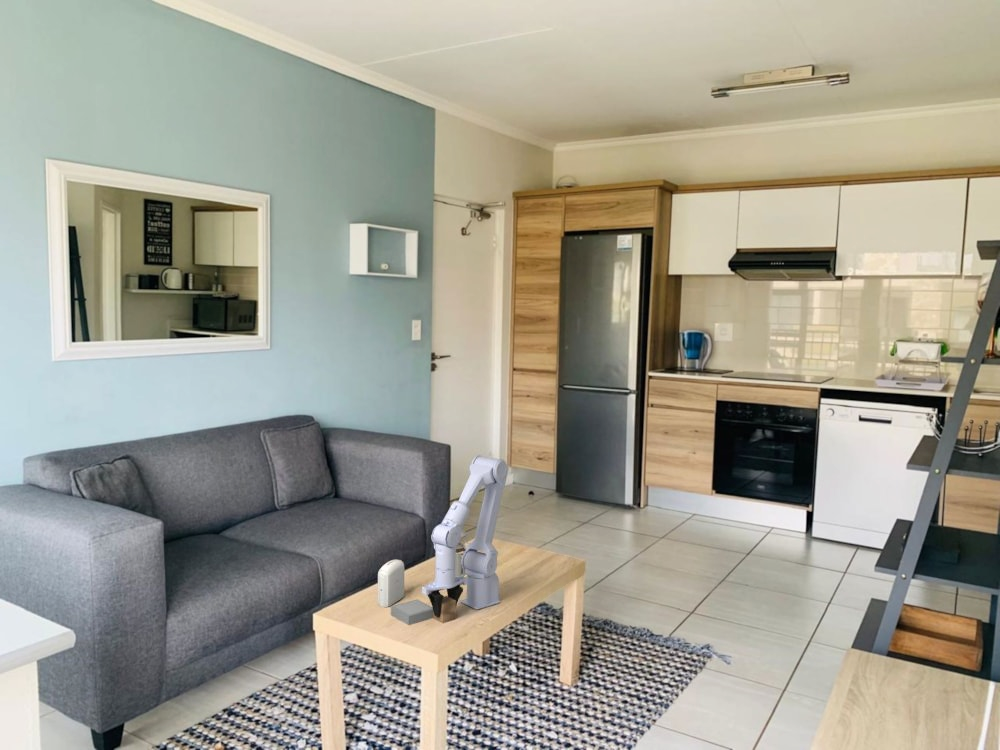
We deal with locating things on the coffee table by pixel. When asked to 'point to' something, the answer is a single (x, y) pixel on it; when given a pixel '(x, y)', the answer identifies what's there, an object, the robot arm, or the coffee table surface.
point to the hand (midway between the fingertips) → (444, 613)
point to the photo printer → (390, 583)
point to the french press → (459, 548)
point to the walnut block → (447, 610)
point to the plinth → (412, 611)
